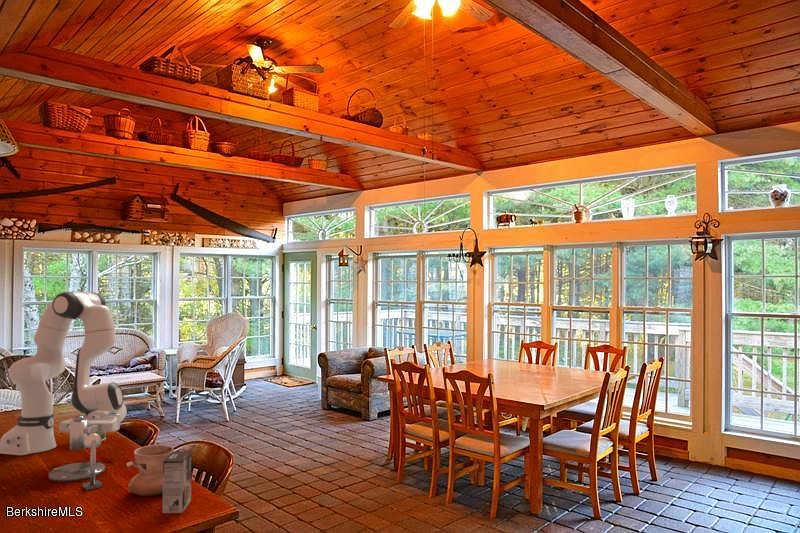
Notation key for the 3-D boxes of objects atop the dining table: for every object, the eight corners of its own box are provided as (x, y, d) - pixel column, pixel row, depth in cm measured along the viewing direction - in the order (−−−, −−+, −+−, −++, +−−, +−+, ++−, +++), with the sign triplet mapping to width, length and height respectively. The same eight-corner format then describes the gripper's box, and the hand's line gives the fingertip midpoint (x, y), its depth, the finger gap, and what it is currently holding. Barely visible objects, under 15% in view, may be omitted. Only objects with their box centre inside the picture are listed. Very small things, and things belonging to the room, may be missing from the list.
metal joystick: (102, 486, 193) (103, 434, 193) (86, 490, 189) (87, 437, 190) (98, 482, 196) (99, 431, 197) (82, 486, 193) (83, 434, 193)
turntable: (36, 481, 197) (37, 477, 197) (67, 464, 215) (68, 460, 215) (87, 482, 197) (87, 478, 197) (114, 465, 215) (114, 461, 215)
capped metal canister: (66, 450, 204) (66, 418, 204) (75, 445, 209) (75, 414, 209) (81, 450, 203) (81, 418, 204) (90, 445, 209) (90, 414, 209)
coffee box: (171, 501, 181) (172, 451, 181) (191, 501, 181) (192, 451, 182) (161, 513, 172) (162, 460, 172) (182, 513, 172) (183, 460, 172)
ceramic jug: (130, 504, 178) (132, 459, 179) (119, 490, 189) (121, 448, 190) (188, 492, 189) (189, 450, 190) (174, 480, 201) (176, 440, 201)
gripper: (72, 413, 220) (49, 422, 206) (123, 413, 219) (104, 422, 205) (71, 429, 219) (49, 439, 206) (123, 429, 219) (104, 439, 205)
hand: (77, 431), depth 206 cm, fingers closed on capped metal canister, 5 cm apart
